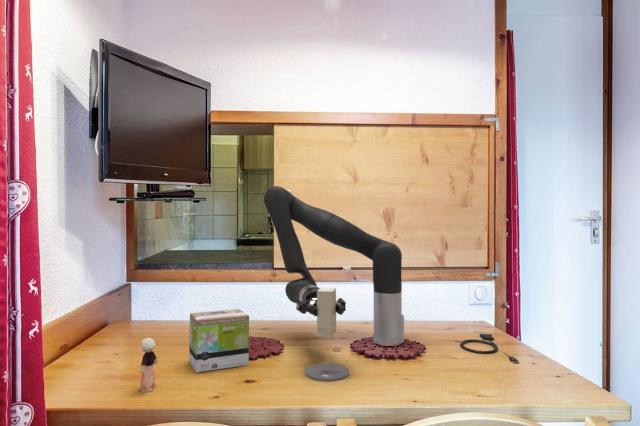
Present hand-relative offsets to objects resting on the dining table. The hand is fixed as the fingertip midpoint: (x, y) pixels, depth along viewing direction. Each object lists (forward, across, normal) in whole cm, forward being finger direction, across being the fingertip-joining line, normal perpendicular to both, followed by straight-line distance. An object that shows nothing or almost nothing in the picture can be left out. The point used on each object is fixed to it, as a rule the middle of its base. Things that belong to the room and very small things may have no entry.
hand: (329, 311), depth 123 cm
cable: (-10, +54, +18) cm, 58 cm away
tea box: (-17, -28, +18) cm, 37 cm away
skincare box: (-2, 0, +7) cm, 7 cm away
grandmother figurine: (-3, -46, +18) cm, 49 cm away
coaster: (-2, 0, +17) cm, 17 cm away
